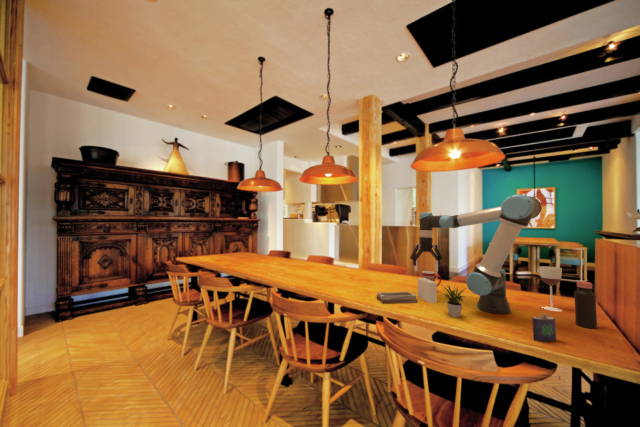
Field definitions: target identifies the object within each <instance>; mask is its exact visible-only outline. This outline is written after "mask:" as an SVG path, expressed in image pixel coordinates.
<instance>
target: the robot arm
mask: <svg viewBox="0 0 640 427" xmlns="http://www.w3.org/2000/svg"><path fill="white" fill-rule="evenodd" d="M542 209H543V208H542V203H541V202H540V200H539V199H537V198H536V197H533V196H528V195H526V194H520V193H519V194H512V195H509V196H508V197H506V198H505V199H504V200H503V201H502V203H501V205H500V206H496V207H495V206H494V207H490V208H486V209H481V210H476V211H471V212H464V213H461V214H456V215H455V214H454V215H433V213H432V212H420V213H419V219H418V220H419V244H414V249H413V251H412V253H411V255H410V257H409V259H410V260H412V266H414V267H413V268H414V271H415V272H418V271H419V270H418V268H419V267H418V265H419V264H418V263H419V262H418V258H419V257H420V256H421V255H422V254H423V253H424V252H425V253H427V252H428V253H430V254H431V255H432V257H433V258H434V272H438V271H439V266H440V261H441V260H443V257H442V255H441V253H440V250H439V248H438V244H433V243H434V242H433V229H458V228H460V227H467V226H472V225H474V226H475V225H479V224H480V225H481V224H486V223H493V222H497V221H499V222H500V223H499V225H498V227H497V228H496V231H495V233H494V235H493V237H492V239H491V241H490V243H489V246H487V250H486V252H485V254H484V255H483V258H482V259H481V262H480V263H478V264H476V265H474V266H475V267H473V270H472V272H470V273H469V274H468V275H467V276H466V278H465V284H466V287H467V289H468V290H469V291H471V293H473V294H475V295H478V296H479V297H478V300H477V303H476V305H477V309H479V310H481V311H484V312H487V313H491V314H498V315H509V314H511V312H512V311H511V306H510V303H509V301H508V299H507V281H506V280H507V275H506V271H505V269H504V268H502V267H503V265H504V264H505V261H506V259H507V257H508V256H509V255H510V252H511V250H512V247H513V245H514V244H515V242H516V240H517V238H518V236H519V234H520V233H521V231H522V229H524V228H527V227H528V226H529V224H530V222H531V221H532V219H535V218H537V217H538V216H539V215H540V214H541V212H542Z"/></svg>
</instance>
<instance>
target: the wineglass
mask: <svg viewBox="0 0 640 427" xmlns="http://www.w3.org/2000/svg"><path fill="white" fill-rule="evenodd" d="M538 270H539V275H540V278H541V280H542V282H543V283H544V284H547V285H548V286H549V294H550V295H549V296H550V299H549V300H550V302H549V303H550V306H546V305H544V306H545V307H543V306H541V308H542V309H543V308H544V310H546V311H551V312H557V313H558V312H563V309H560V308H557V307H554V306H553V300H554V299H553V286H555V285H558V284H559V283H560V282H561V279H562V273H563V272H562V270H563V268H562V267H557V266H546V265H545V266H544V265H541V266H540V265H539V267H538Z"/></svg>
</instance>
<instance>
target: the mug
mask: <svg viewBox="0 0 640 427" xmlns="http://www.w3.org/2000/svg"><path fill="white" fill-rule="evenodd" d="M437 277H438V278H439V282H438V283H436V287H437V288H438V287H439V286H440V284H441V282H442V278H441V277H442V276H440V275H439V274H436V271H432V270H431V271H429V270H423V271H421V278H426V279H429V280H431V281H434V282H436V281H435V280H436V279H437Z"/></svg>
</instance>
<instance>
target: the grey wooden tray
mask: <svg viewBox="0 0 640 427" xmlns="http://www.w3.org/2000/svg"><path fill="white" fill-rule="evenodd" d="M376 299H377V300H378V301H379V302H381V303H382V304H384V305H387V304H390V305H391V304H418V299H417V295H416V294H413V293H412V292H410V291H392V292H391V291H389V292H386V291H385V292H382V291H381V292H377V294H376Z"/></svg>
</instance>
